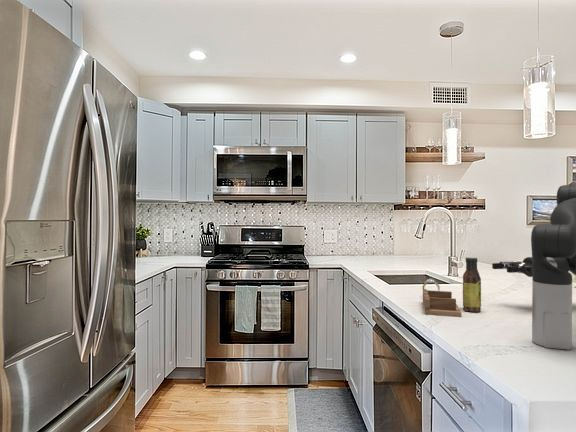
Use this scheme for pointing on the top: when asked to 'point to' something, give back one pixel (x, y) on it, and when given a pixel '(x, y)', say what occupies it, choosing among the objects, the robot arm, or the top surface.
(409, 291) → the top surface
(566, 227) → the robot arm
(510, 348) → the top surface
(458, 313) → the rack
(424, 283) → the ring
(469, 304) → the sauce bottle
